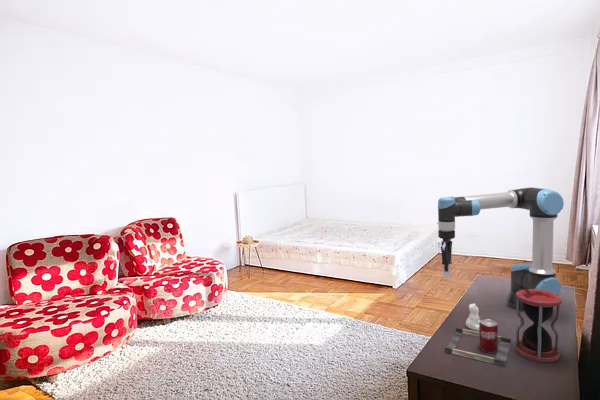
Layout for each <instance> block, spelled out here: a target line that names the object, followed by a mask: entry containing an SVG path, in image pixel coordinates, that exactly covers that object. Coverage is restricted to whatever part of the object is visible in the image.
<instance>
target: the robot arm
mask: <svg viewBox="0 0 600 400" xmlns="http://www.w3.org/2000/svg"><path fill="white" fill-rule="evenodd" d="M564 202H565V201H564V198H563V196H562V195H561V193H559V192H558V191H556V190H552V189H549V188H539V187H523V188H517V189H510V190H507V191H506V192H497V193H488V194H474V195H465V196H455V197H454V196H446V197H443V196H442V197H440V198H439V199H438V201H437V215H438V216H437V218H438V221H437V223H436V224H437V225H438V226H437V228H438V231H437V234H438V235H437V237H438V238H439V239H442V241H441V246H440V251H441V252H440V253H441V265H442V266H443V278H447V279H450V278H451V265H452V263H453V262H452V252H453V251H452V250H453V241H452V240H453V239H455V238H456V231H455V229H456V218H459V217H473V216H478V215H479V214H480V213H481V210H489V209H501V208H510V209H521V210H527V211H529V217H530V218H531V219H532V252H531V253H532V254H531V255H532V256H531V258H532V259H531V261H532V262H531V263H525V262H523V263H513V264H512V265H511V268H510V291H509V292H508V293H509V294H508V296H507V299H506V305H507V306H508V307H509V308H511V309H514V310H516V311H517V297H516V292H517V291H519V290H522V289H539V290H545V291H549V292H552V293H555V294H557V295H559V293H560V292H561V289H562V283H561V281H560V280H559V278H557V272H556V270H555V269H554V267H553V259H554V258H553V257H554V255H553V253H554V221H555V220H556V219H557V218H558V214H559V213H561V212H562V211H563V209H564V205H565V203H564ZM521 311H522V312H524V309H523V302H522V301H520V312H521Z"/></svg>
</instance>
